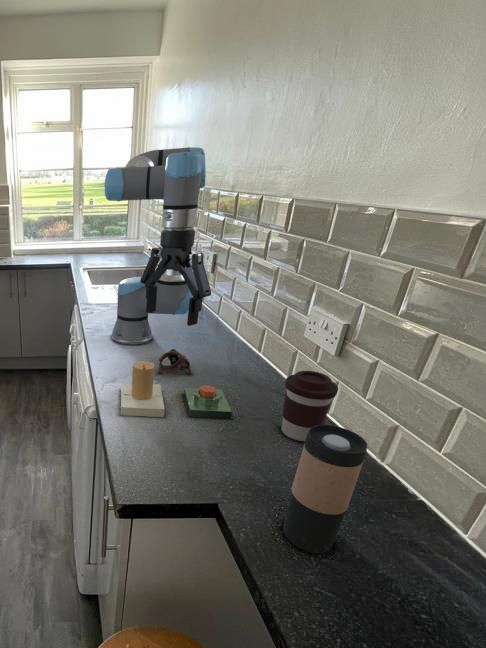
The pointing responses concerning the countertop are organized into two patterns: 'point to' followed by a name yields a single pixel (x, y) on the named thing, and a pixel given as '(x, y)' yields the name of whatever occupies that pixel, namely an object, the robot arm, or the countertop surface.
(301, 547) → the travel mug
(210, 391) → the button
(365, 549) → the countertop surface
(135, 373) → the knob
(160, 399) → the panel
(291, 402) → the coffee cup
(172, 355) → the brown arched frame
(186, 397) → the button box
